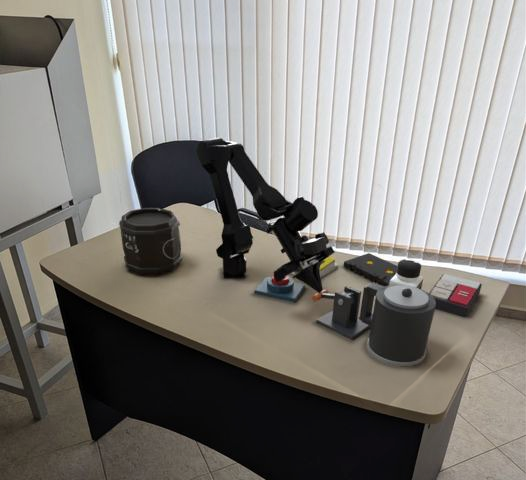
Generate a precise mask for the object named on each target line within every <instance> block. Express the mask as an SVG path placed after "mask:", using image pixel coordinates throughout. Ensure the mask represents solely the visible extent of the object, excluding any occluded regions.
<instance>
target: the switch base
mask: <svg viewBox="0 0 526 480" xmlns="http://www.w3.org/2000/svg"><path fill="white" fill-rule="evenodd" d="M344 292H352V293H354V297H355V302H354V303H352V304H351V300H352V297H350V296H348V295H346V294H343V293H344ZM334 294H335V296H334V299H333V307H332V310H331V311H329V312H327V313H325V314H323V315H322V316H320V317H318V318H317V319H315V320H316V321H315V323H316V324H317V325H320V326H322V327H323V328H326V329H328V330H330V331H332V332H334V333H336V334H338V335H340V336H342V337H344V338H346V339H349V340H350V341H353V340H354V339H356V338H357V337H358V336H360V335H361V334H363V333H365V332H366V331H368V330H370V329H371V326H369V325H367V324H365V323H363V322H362V321H361V320H359V318H360V316H359V313H360V312H359V311H360V306H361V299H362V291H361V290H359V289H357V288H355V287H352V286H349V285H345V286H344V289H343V292H341V291H338V290H336V291H335V292H334Z"/></svg>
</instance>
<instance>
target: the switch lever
mask: <svg viewBox="0 0 526 480" xmlns="http://www.w3.org/2000/svg"><path fill="white" fill-rule="evenodd" d="M329 292H330V291H329V290H328V289H327V288H326V289H325V288H324V289H323V291H322V292H320V293H318V292H317V293H315V294H314V295H312V297H311V299H312V301H313V302H317V301H319V300H321V299H328V300H334V296H335V293H329ZM342 293H343V294H346V295H348V296H350V297H352V300H351V304H352V303H354V302H355V297H354V293H352V292H344V291H343V292H342Z"/></svg>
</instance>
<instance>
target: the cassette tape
mask: <svg viewBox="0 0 526 480" xmlns="http://www.w3.org/2000/svg"><path fill="white" fill-rule="evenodd" d="M397 266H398V264H397V265H396V264H394V263H392V262H390V261H388V260H385V259H383V258H381V257H379V256H376V255H375V254H372V253H370V252H368V253H364V254H361V255H359V256H356V257H353V258H350V259H347V260H345V261H343V267H344V268H346V269H348V270H349V272H352V273H354V274H356V275H358V276H361V277H362V276H363V278H365V279H366V280H368V281H369V282H372V283H376V284H379V285H381V286H384V287H386V286H389V284H390V280H391V279H392V278H393V277H394V276H395V274H396V272H397Z"/></svg>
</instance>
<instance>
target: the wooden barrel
mask: <svg viewBox="0 0 526 480" xmlns="http://www.w3.org/2000/svg"><path fill="white" fill-rule="evenodd" d="M118 226H119V228H120V229H119V230H120V237H121V244H122V250H123V254H124V256H123V259H124V264H125V266H126V268H127V269H128V270H129V272H131V273H134V274H136V275H139V276H142V277H143V276H144V277H146V276H148V277H149V276H150V277H151V276H152V277H153V276H154V277H155V276H156V277H158V276H161V275H165V274H169V273H173V272H174V271H175V270H176V269H177V268H178V267H179V266H180V263H181V262H182V261H183V256H182V241H181V233H180V232H181V231H180V227H179V226H181V222H180V221H179V218H178V217H177V216H176V214H175V213H174V212H173V211H171V210H169V209H165V208H160V207H142V208H137V209H133V210H130V211H128V212H126V213H125V214H122V215H121V219H120V220H119V222H118Z"/></svg>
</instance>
